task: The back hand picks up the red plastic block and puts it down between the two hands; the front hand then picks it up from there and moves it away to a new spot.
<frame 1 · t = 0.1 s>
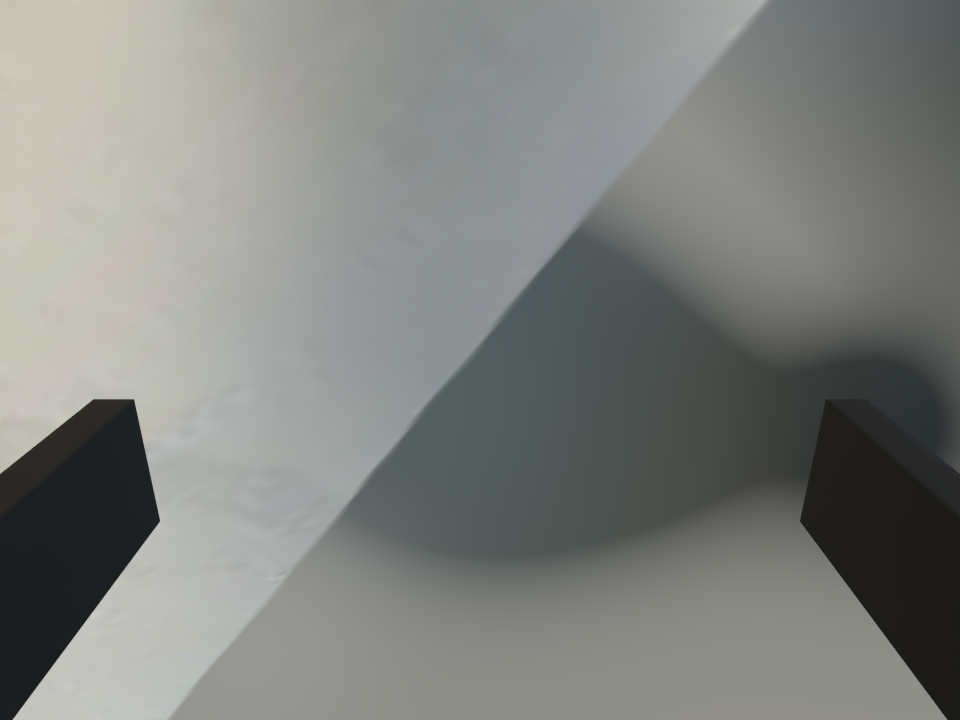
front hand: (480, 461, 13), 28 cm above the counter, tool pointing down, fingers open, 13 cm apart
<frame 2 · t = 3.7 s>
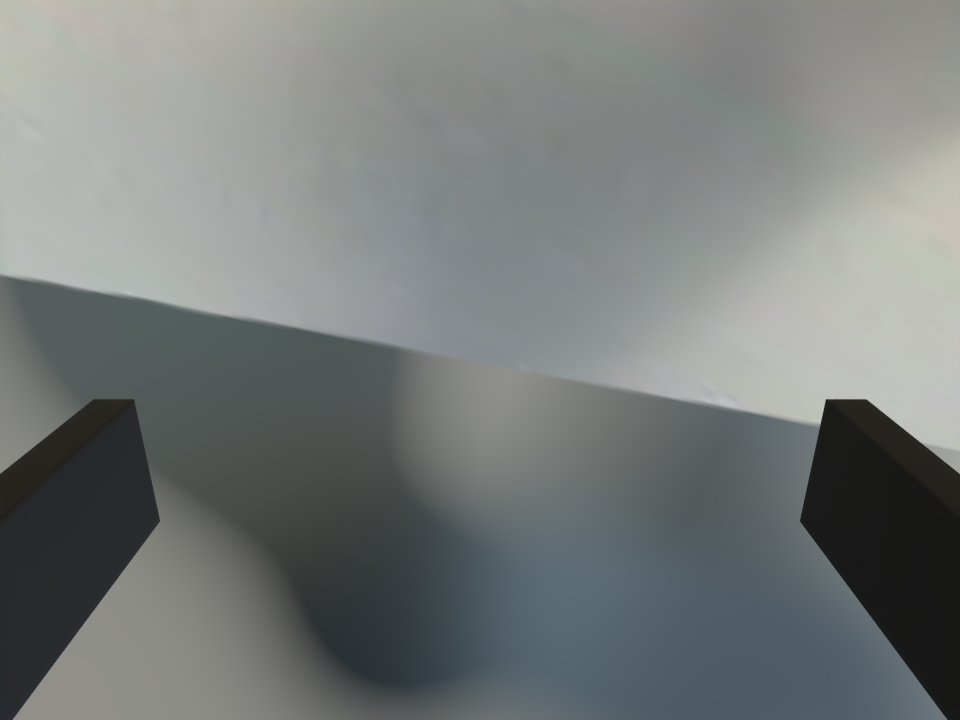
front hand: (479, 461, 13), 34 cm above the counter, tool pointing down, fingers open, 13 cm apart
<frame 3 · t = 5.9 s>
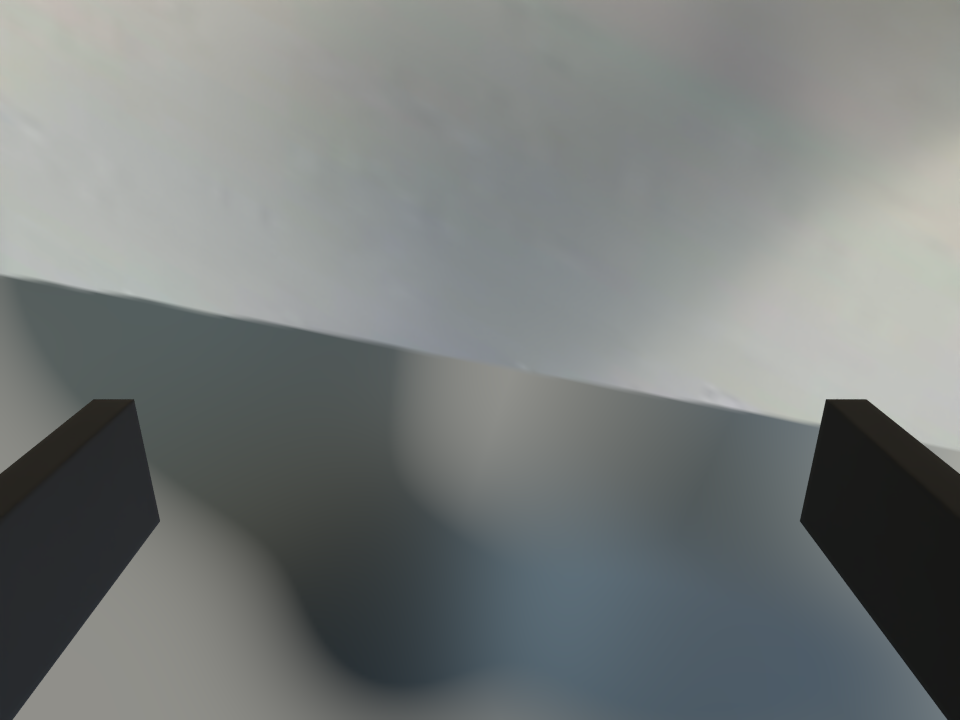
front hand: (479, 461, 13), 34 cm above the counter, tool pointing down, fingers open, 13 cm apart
when the back hand's fingers open (3 cm above the counter, at t = 8.4 s): block drops 2 cm, on the counter.
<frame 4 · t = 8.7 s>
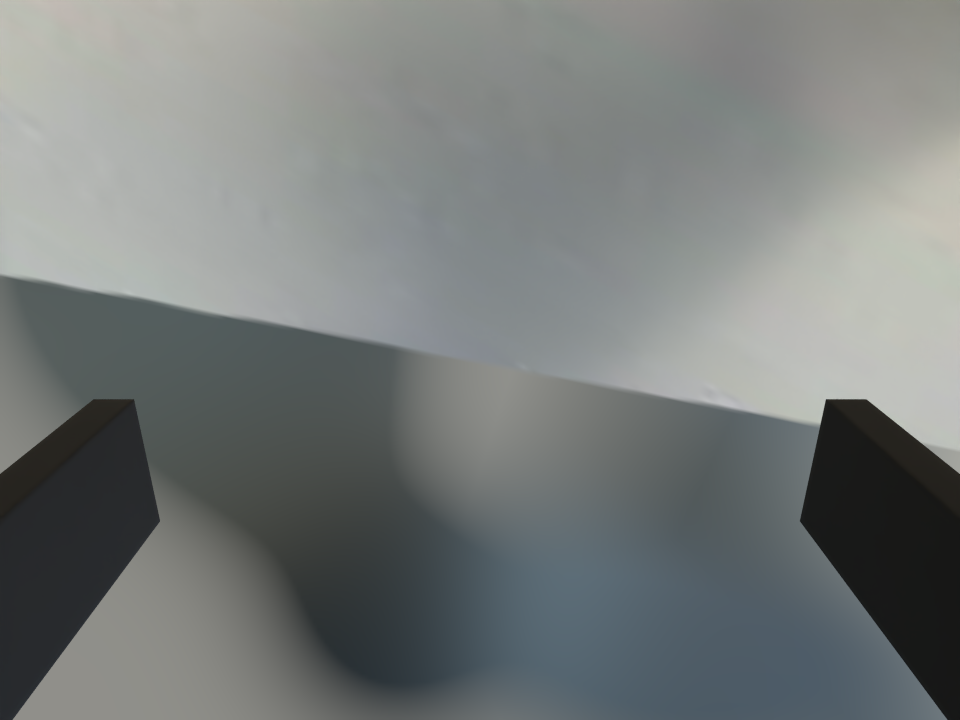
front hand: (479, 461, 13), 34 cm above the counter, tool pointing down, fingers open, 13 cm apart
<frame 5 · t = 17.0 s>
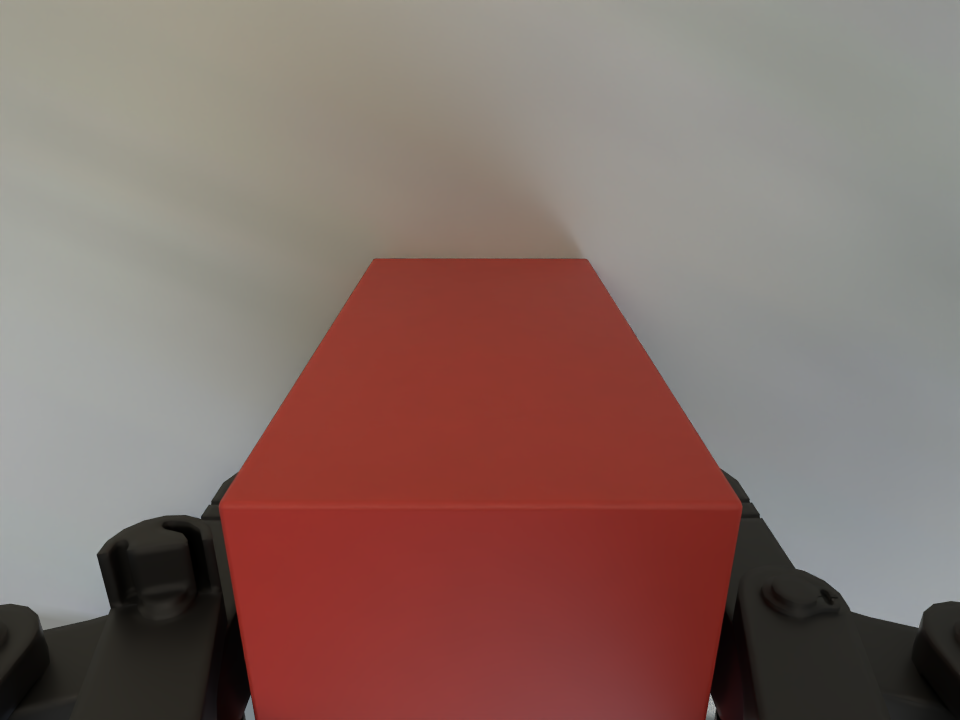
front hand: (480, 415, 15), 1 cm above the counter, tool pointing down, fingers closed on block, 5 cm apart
block: (480, 397, 16), on the counter, touching front hand
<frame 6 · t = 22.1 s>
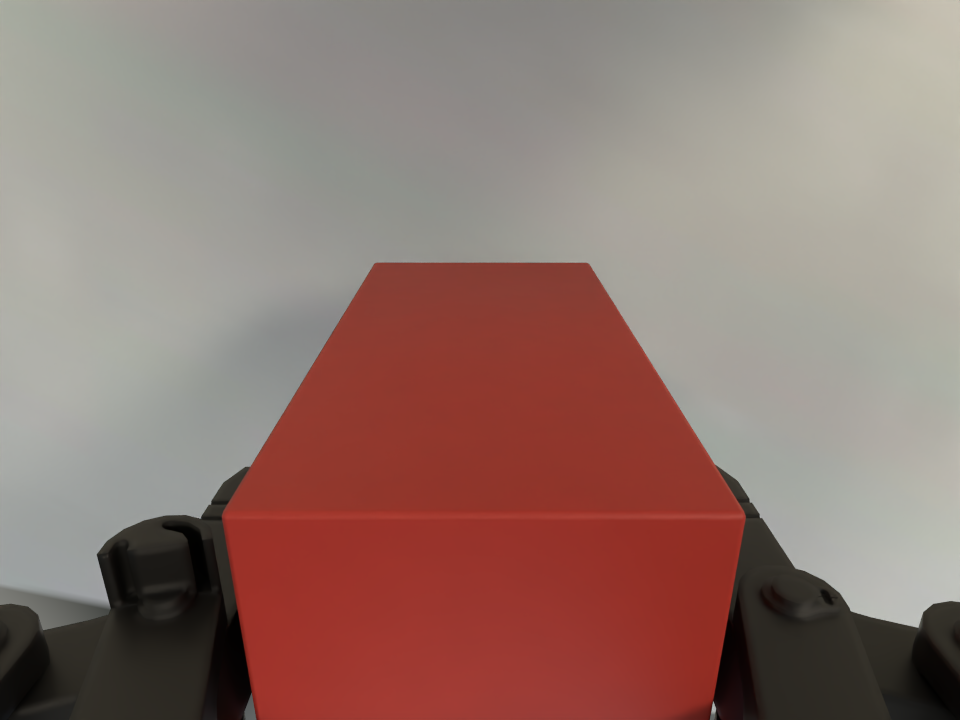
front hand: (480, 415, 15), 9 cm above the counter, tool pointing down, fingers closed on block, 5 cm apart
block: (481, 401, 16), point 8 cm above the counter, touching front hand
when the front hand's fingers open (3 cm above the counter, at t = 27.1 s): block drops 2 cm, on the counter.
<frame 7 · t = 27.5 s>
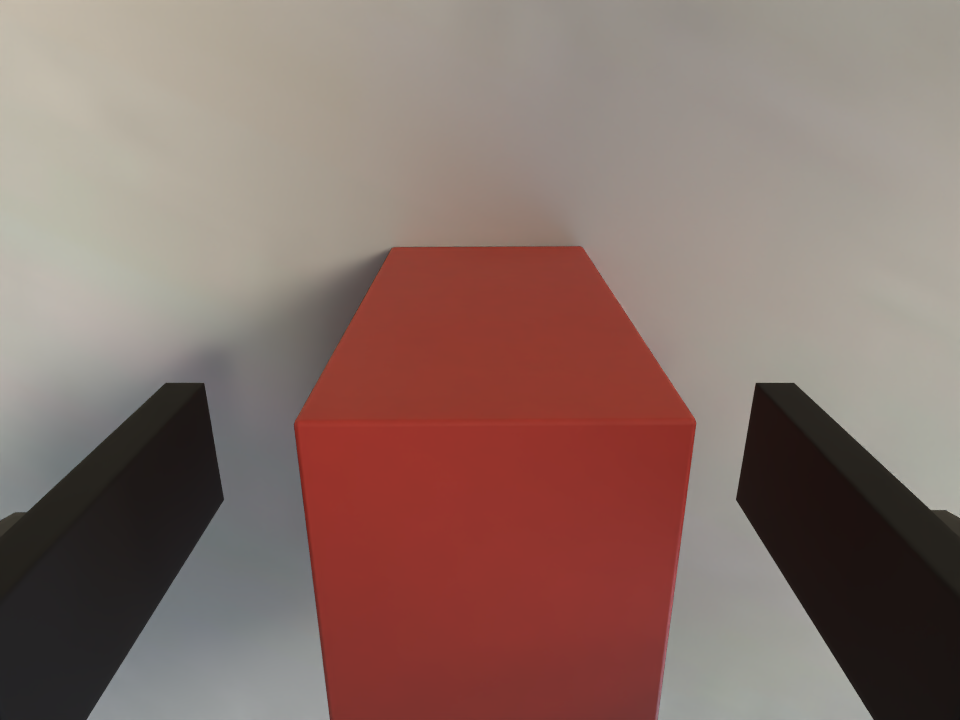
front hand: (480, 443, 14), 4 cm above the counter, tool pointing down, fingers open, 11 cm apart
block: (487, 372, 17), on the counter
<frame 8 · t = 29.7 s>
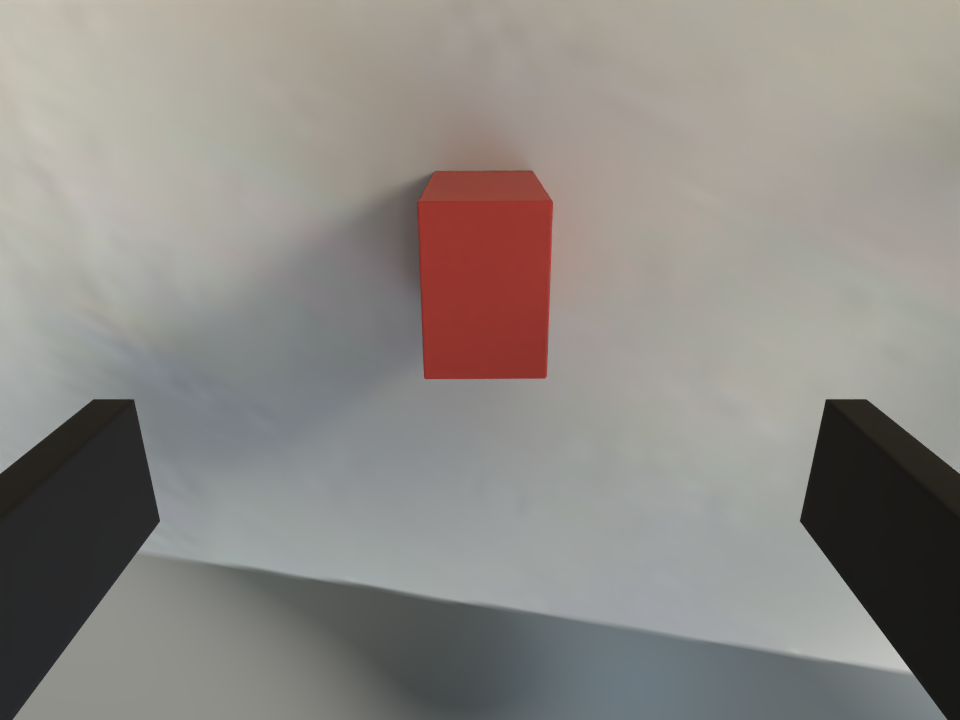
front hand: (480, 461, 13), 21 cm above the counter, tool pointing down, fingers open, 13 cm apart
block: (483, 241, 33), on the counter
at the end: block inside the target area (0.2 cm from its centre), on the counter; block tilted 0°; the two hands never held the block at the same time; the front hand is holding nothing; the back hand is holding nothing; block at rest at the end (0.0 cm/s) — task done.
